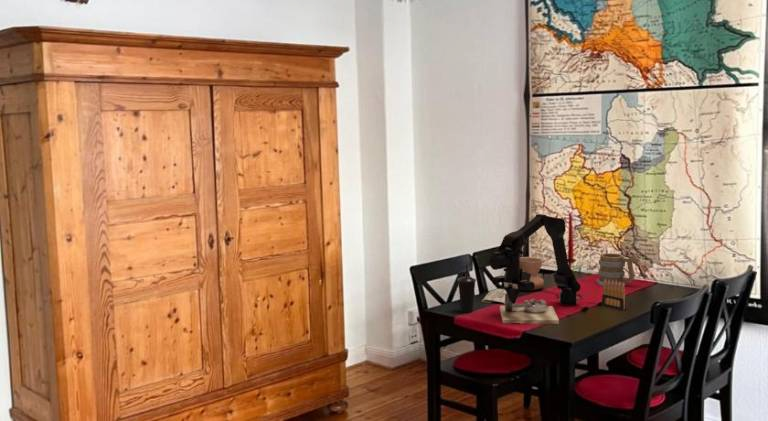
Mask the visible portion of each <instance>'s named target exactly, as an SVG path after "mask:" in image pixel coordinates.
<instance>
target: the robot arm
mask: <svg viewBox="0 0 768 421" xmlns="http://www.w3.org/2000/svg"><path fill="white" fill-rule="evenodd" d="M542 227H544V228H545V231H546V233H547V235H548V236H549V237H550V239H551V243H552V248H553V249H552V250H553V252H554V253H553V254H554V258H555V263H556V271H555V272H554V273H553V278H554V283H556V286H557V289H558V290H560V292H559V303H560V304H561V306H577V305H578V303H577V292H579V291H581V284H580V283H579V282H578V281H577V278H576V275H575V272H574V271H573V270H572V269H571V267H570V265H569V264H570V263H569V259H568V254H567V249H566V244H565V238H564V236H565V234H566V220H565V219H563V217H562V218H561V217H553V216H549V215H546V214H542V213H538V214H535V216H534V217H533V218H532V219H530V220H529V221H528V222H527V223H526V224H524V225H523V226H522V227H521V228H519V229H518V230H516V231H512V232H509V233H507V234H505V236H503V238H502V241H501V243H500V245H499V247H498V249H497V251H495V252H492V256H490V258H489V262H488V263H489V266H490V268H491V269H492V270H495V271H497V270H501V269H503V272H505V275H498V276H497V275H496V276H494V277H493V279H492V284H493V285H499V284H500V283H502V284H503V286H502V289H504V290H505V291H506V292H507V294H508V296H509V298H510V300H511V301H512V304H515V303H517V298H518V295H519V293H520V291H525V292H526V291H532V290H531V289H535V284H534V282H532V281H530V277H531V274H530V273H526V272H523V269H522V268H520V258H521V256H520V255H524V253H525V252H524V251H523V250H521V249H522V248H523V247H524V245H525V244H526V241H527V240H528V238H530V237H531V236H532V235H533V234H535V233H536V232H537V231H538V230H540V229H541V228H542ZM524 280H527V281H524ZM520 281H522V282H520Z"/></svg>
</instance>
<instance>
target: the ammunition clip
mask: <svg viewBox="0 0 768 421" xmlns="http://www.w3.org/2000/svg"><path fill="white" fill-rule="evenodd" d="M625 286H626V285H624V282H623V283H622V286H621V282H620V281H619V284H618V285H617V281H615V287H614V281H613V280H612V282H611V287H610V280H608V284H607V281H606V278H605V280H604V286H603V288H602V296H601V297H602V298H601V306H602V307H605V308H610V309H614V310H619V311H626V309H627V306H626V303H627V302H626V301H627V300H626V299H627V298H626V289H625V288H626V287H625Z"/></svg>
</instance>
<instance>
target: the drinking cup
mask: <svg viewBox="0 0 768 421" xmlns="http://www.w3.org/2000/svg"><path fill="white" fill-rule="evenodd" d="M468 268H469V267H468V264H467V263H466V264H465V276H462V277H459V278H457V283H458V292H459V304H460V312H462V313H465V312H469V313H472V312H474V311H473V310H474V309H473V308H474V300H475V290H476V289H475V288H476V281H477V279H476V278H475V277H472V276H469V275H468Z"/></svg>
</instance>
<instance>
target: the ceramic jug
mask: <svg viewBox="0 0 768 421" xmlns="http://www.w3.org/2000/svg"><path fill="white" fill-rule="evenodd" d="M542 266H543V259H542V258H539V257H534V256H522V257H521V256H520V268H522V269H523V272H526V273H530V274H531V277H530V281H532V282H534V284H535V289H531V290H530V291H537V290H540V289H542V288H543V287H544V285H545V280H544V279H543V278H542V277H541V276H539V272H540V269H541V267H542ZM524 281H527V280H524ZM520 282H522V281H520Z"/></svg>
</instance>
